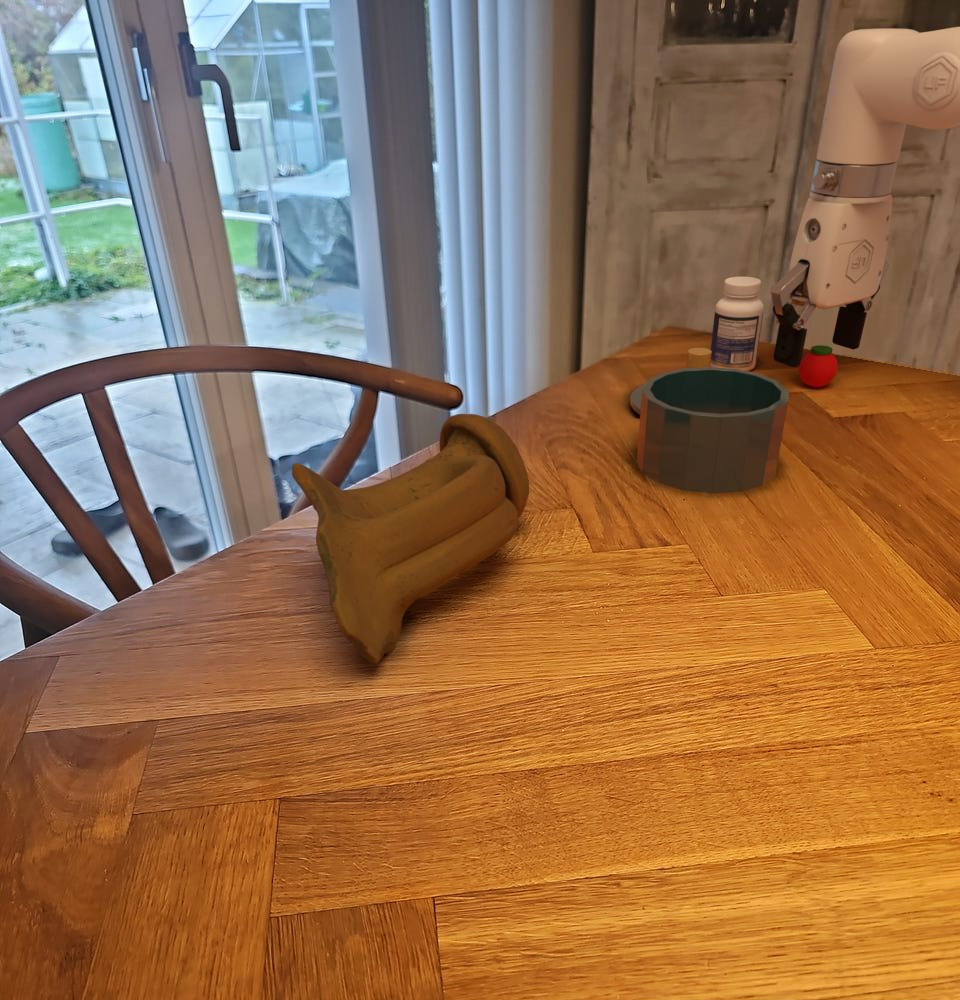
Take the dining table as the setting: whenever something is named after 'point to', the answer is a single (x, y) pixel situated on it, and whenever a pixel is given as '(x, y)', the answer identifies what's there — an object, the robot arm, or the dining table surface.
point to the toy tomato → (818, 366)
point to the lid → (694, 360)
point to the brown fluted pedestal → (415, 528)
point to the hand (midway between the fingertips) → (816, 354)
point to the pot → (711, 429)
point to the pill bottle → (737, 325)
